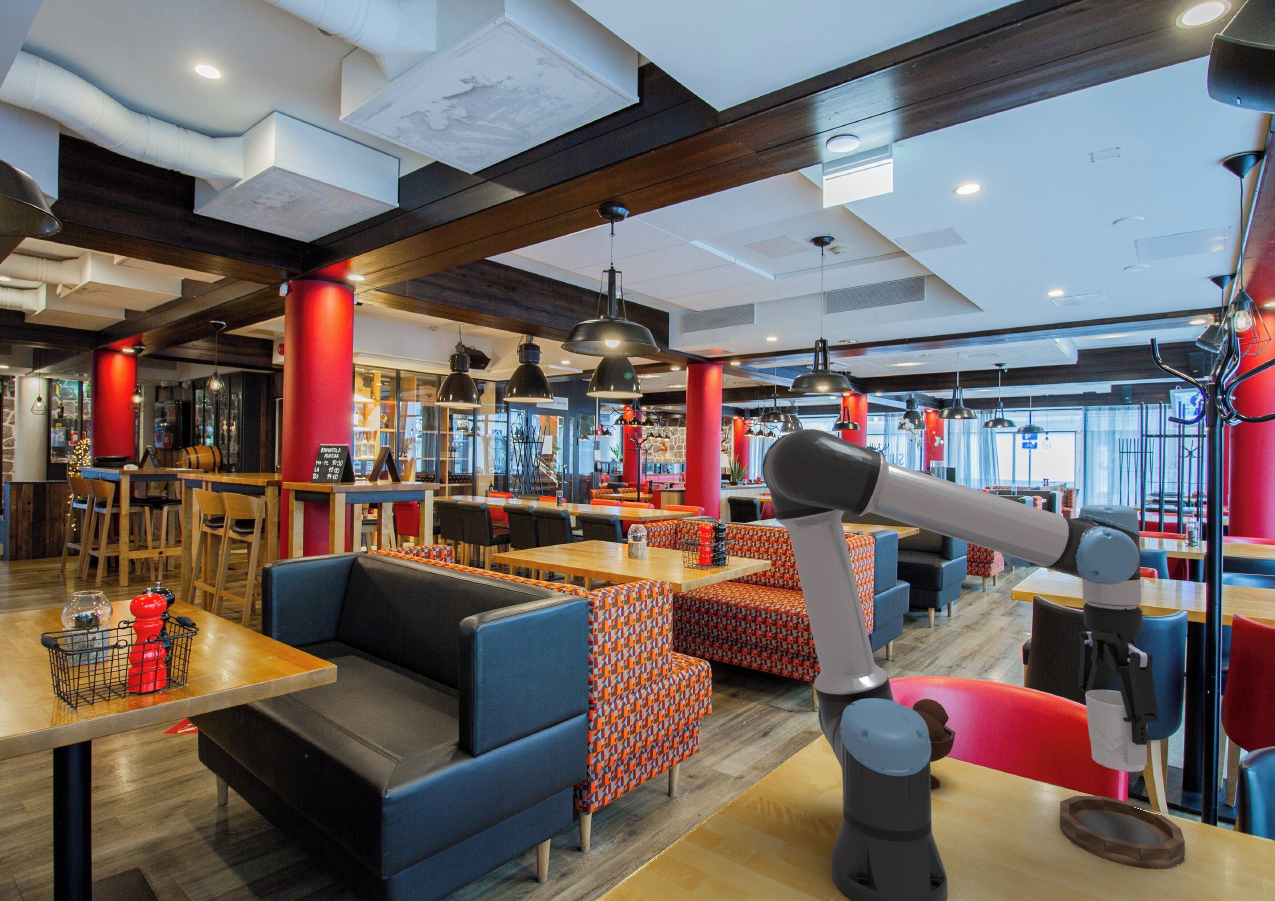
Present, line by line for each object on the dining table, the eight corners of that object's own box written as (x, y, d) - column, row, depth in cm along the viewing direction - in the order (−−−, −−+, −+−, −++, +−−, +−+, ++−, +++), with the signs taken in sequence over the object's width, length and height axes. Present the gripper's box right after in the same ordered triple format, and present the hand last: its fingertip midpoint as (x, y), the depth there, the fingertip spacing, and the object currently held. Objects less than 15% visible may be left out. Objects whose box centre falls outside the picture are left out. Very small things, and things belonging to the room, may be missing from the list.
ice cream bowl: (907, 763, 130) (906, 686, 131) (967, 783, 122) (965, 700, 123) (881, 781, 123) (879, 699, 124) (942, 803, 115) (940, 715, 115)
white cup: (1161, 776, 99) (1158, 708, 99) (1101, 772, 101) (1099, 705, 101) (1133, 753, 107) (1131, 690, 107) (1078, 750, 109) (1076, 688, 109)
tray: (1099, 867, 96) (1098, 847, 96) (1040, 811, 112) (1039, 794, 112) (1212, 869, 95) (1212, 849, 95) (1136, 813, 111) (1136, 796, 111)
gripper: (1187, 618, 94) (1194, 783, 93) (1095, 591, 115) (1100, 726, 114) (1132, 619, 94) (1138, 782, 94) (1050, 592, 115) (1054, 726, 114)
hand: (1117, 751), depth 104 cm, fingers closed on white cup, 8 cm apart
